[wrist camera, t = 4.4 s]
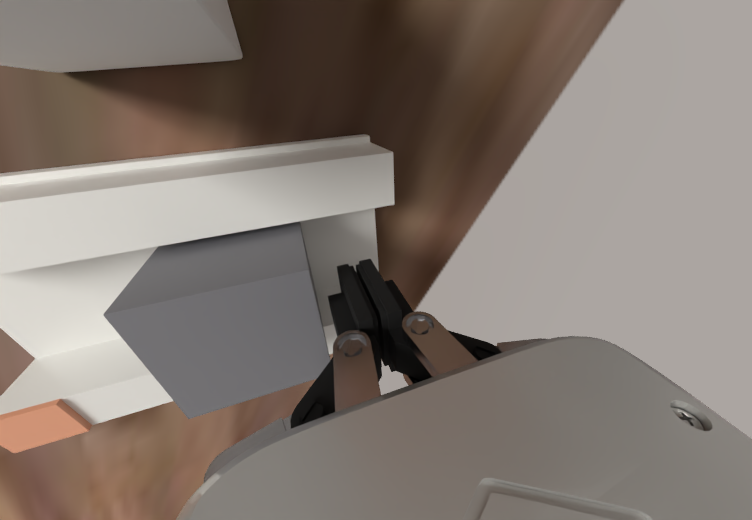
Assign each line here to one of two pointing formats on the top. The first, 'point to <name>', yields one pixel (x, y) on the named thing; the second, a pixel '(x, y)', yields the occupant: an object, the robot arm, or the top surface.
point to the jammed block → (225, 317)
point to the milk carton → (115, 33)
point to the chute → (137, 243)
